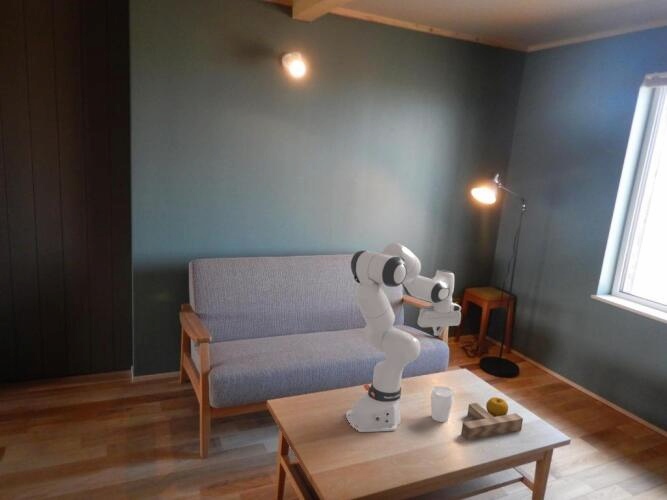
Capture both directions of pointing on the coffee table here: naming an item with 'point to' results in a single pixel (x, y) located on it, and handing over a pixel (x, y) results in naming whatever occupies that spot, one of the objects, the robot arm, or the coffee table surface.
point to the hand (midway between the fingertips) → (437, 335)
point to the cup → (441, 403)
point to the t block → (488, 423)
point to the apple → (497, 407)
